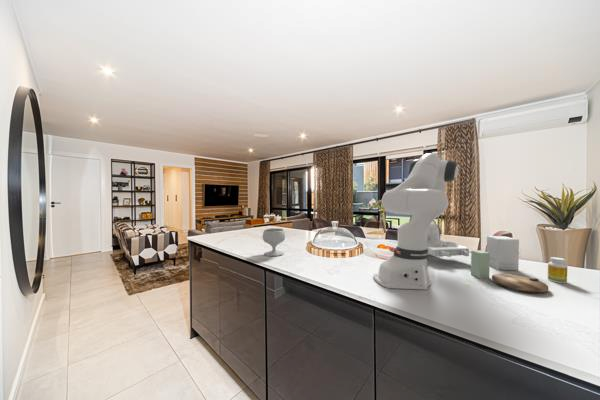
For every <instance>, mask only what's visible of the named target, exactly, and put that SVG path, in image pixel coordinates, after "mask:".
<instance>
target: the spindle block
mask: <svg viewBox="0 0 600 400" xmlns="http://www.w3.org/2000/svg"><path fill="white" fill-rule="evenodd" d="M470 253H471V255H470V256H471V257H470V260H471V261H470V275H471V276H473V277H475V278H478V279H490V267H491V266H490V253H488V252H487V251H484V250H481V249H480V250H478V249H477V250H471V252H470Z"/></svg>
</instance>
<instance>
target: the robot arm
mask: <svg viewBox="0 0 600 400" xmlns="http://www.w3.org/2000/svg"><path fill="white" fill-rule="evenodd" d="M459 169H460V168H459V166H458V163H457V162H456V161H454V160H449V159H448V160H444V159H441V158H440V156H438V155H437V154H435V153H431V152H430V153H425V154H422V156H421V157H419V158H417V159H413V160H412V161H411V162H410V164H409V166H408V176H407V178H406V179H404V181H402V183H400V184H398V185H397V186H396V187H393V188H391V189H389V190H387V191H385V192H384V193H383V194H382V198H381V207H382V208H383V210H385V212H388V213H391V214H396V215H410V217H409V220H408V222H406V223H403V224H401V225H400V226H399V227H398V228H397V245H396V247H394V246H389V248H388V250H389V252H391V253H393V254H391V256H390V257H388V258H387V259H385V260H384V261H383V262H381V263H380V266H379V269H378V272H377V273H373V279H374V281H375V282H376V283H378V284H379V285H380V286H383V287H384V288H388V289H397V290H398V289H399V290H400V289H401V290H407V289H408V290H423V291H425V290H426V291H427V290H428V287H429V286H430V285H431V284H432V282H431V280H430V275H429V269H428V260H429V259H428V258H429V255H430V256H432V257H441V258H442V257H447V258H450V257H452V256H456V257H457V256H464V257H470V249H469V248H468V247H467V246H463V245H461V244H457V243H456V242H454V241H446V240H441V234H442V233H441V232H442V231H441V228H440V226H439V225H438V224H437V223H436V222H434V221H435V219H436V218H438V217H440V216H441V215H443V214H444V213H445V212H446V211H447V209H448V206H449V198H448V196H447V194H446V193H445V192H446V183H450V182H453V181H454V180H455V179H456V178H457V176H458V175H459Z"/></svg>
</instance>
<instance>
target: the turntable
mask: <svg viewBox="0 0 600 400" xmlns="http://www.w3.org/2000/svg"><path fill="white" fill-rule="evenodd" d="M491 280H492V281H493V282H494V283H496V284H498V285H499V284H501V285H504V286H507V287H510V288H514V289H518V290H523V291H530V292H540V293H545V292H547V291H549V285H548V284H546V283H545V282H542V281H540V280H539V278H537V277H527V276H524V275H517V274H511V273H494V274H492V275H491ZM501 285H500V286H501Z"/></svg>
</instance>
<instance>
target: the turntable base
mask: <svg viewBox="0 0 600 400" xmlns="http://www.w3.org/2000/svg"><path fill="white" fill-rule="evenodd" d="M498 285H500V286H502V287H503V288H507V289H510V290H513V291H515V292H516V291H517V292H522V293H527V294H528V293H529V294H540V293H541V292H530V291H523V290H518V289H514V288H510V287H507V286H504V285H501V284H498Z"/></svg>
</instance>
